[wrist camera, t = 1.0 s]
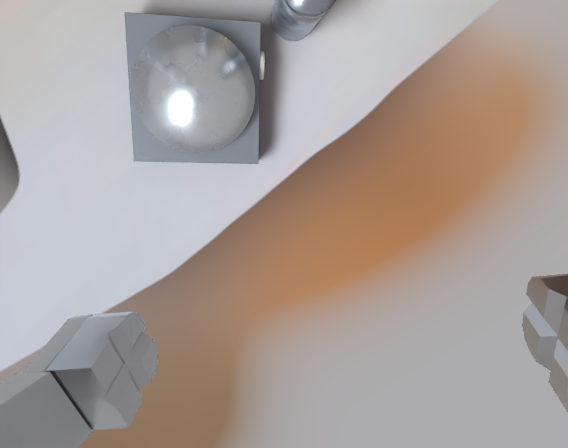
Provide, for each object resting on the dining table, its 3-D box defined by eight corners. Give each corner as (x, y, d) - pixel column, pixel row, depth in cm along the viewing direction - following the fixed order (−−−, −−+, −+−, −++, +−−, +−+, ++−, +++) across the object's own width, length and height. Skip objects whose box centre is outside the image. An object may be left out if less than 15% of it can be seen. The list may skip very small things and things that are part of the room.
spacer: (271, -11, 36) (283, -56, 28) (316, -7, 37) (342, -49, 28) (269, 40, 37) (281, 12, 29) (314, 43, 38) (338, 17, 29)
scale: (133, 21, 35) (123, 10, 32) (263, 31, 37) (266, 21, 34) (141, 159, 38) (132, 161, 35) (261, 161, 40) (264, 164, 37)
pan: (130, 23, 32) (126, 20, 31) (255, 32, 34) (255, 29, 33) (137, 151, 35) (135, 151, 34) (253, 153, 37) (254, 154, 36)
